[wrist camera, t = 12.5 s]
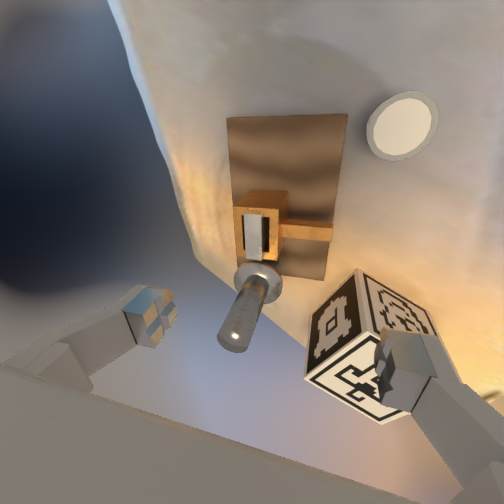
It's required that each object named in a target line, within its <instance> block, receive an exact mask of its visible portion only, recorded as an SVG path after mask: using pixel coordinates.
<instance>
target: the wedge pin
mask: <svg viewBox="0 0 504 504" xmlns="http://www.w3.org/2000/svg"><path fill="white" fill-rule="evenodd" d="M269 228H270V217H263V212H260V211H246V212H245V213H244V230H245V248H246V259H252V260H260V261H262V259H263V257H264V246H265V244H266V242H267V240H268V238H269Z"/></svg>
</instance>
